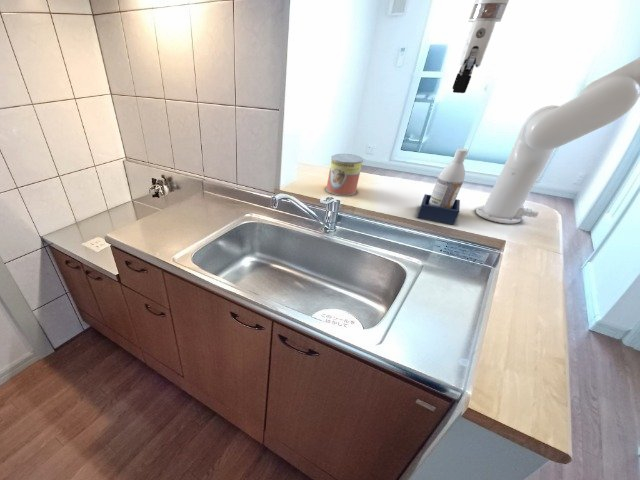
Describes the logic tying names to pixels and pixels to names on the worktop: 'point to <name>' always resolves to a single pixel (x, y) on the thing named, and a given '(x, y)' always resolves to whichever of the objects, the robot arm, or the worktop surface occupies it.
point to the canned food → (344, 174)
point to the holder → (438, 211)
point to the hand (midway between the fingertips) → (458, 90)
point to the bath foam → (449, 182)
